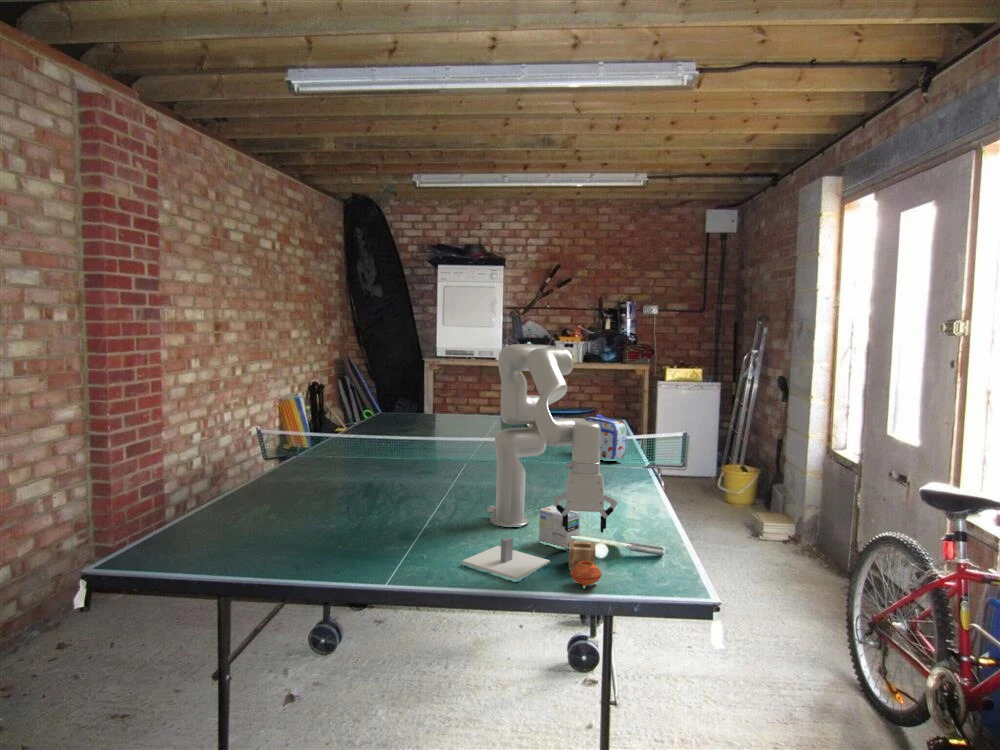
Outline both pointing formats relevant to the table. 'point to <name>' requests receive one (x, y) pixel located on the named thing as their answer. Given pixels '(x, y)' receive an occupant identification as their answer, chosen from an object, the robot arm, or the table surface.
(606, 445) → the lunch box
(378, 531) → the table surface
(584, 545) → the oak collar
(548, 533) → the light bulb box
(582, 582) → the pot
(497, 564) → the plate
